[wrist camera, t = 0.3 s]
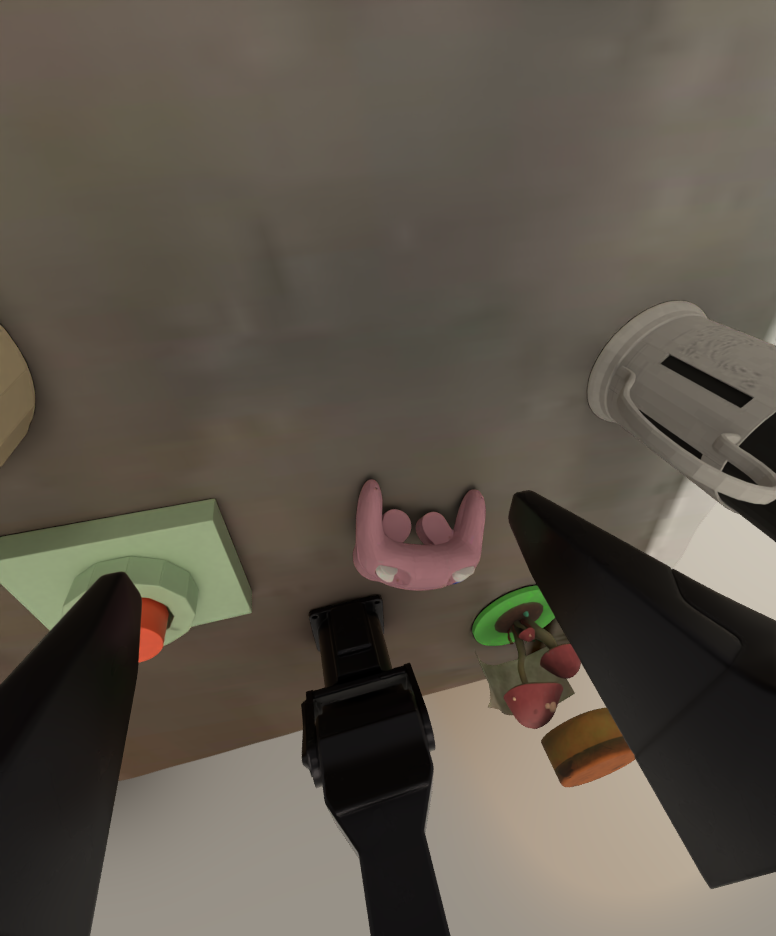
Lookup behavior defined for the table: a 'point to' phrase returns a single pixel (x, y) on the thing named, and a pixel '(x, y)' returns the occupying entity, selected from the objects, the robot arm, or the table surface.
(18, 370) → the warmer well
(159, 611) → the stop button
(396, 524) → the video game controller
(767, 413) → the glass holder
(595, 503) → the table surface
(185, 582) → the stop button base
